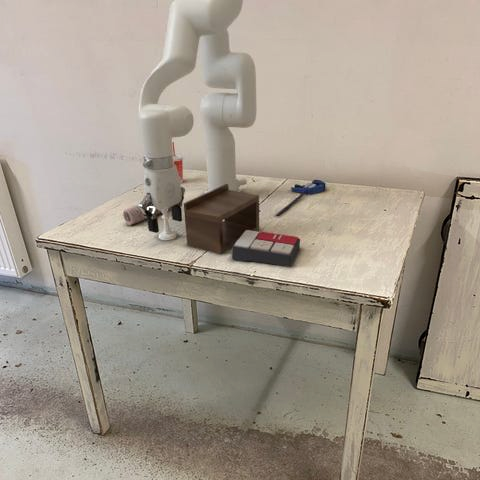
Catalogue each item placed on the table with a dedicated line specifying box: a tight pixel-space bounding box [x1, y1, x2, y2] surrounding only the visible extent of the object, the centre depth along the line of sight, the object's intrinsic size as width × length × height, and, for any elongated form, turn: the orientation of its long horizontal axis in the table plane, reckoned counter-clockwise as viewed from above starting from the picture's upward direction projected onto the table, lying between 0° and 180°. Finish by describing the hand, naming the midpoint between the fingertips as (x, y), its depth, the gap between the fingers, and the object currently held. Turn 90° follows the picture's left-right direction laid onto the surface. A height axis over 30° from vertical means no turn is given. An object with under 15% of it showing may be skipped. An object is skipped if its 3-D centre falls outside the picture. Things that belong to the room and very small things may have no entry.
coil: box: [122, 204, 171, 226], centre depth 147 cm, size 5×5×18 cm
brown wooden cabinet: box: [183, 184, 260, 255], centre depth 130 cm, size 19×11×12 cm, turn 147°
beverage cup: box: [172, 141, 184, 184], centre depth 174 cm, size 6×6×14 cm
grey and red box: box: [231, 230, 301, 267], centre depth 122 cm, size 11×4×15 cm
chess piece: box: [158, 208, 177, 241], centre depth 132 cm, size 5×5×10 cm
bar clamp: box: [275, 179, 327, 217], centre depth 158 cm, size 32×2×10 cm
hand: (165, 226), depth 132 cm, fingers open, 9 cm apart
